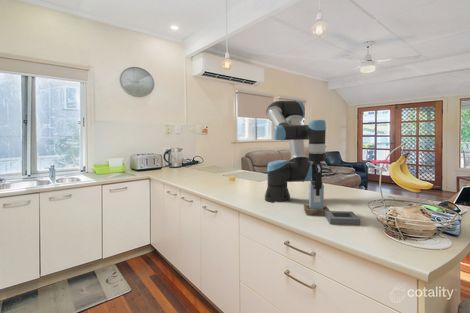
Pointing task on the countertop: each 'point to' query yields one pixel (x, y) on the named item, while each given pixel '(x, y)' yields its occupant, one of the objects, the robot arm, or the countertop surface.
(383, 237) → the countertop surface
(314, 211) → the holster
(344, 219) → the port
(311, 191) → the plug
